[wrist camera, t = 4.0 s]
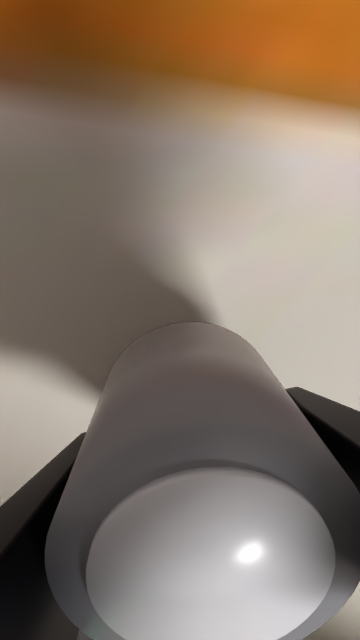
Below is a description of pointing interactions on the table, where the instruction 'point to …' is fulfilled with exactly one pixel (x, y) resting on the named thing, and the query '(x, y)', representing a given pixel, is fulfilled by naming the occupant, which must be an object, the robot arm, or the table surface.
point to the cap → (202, 502)
